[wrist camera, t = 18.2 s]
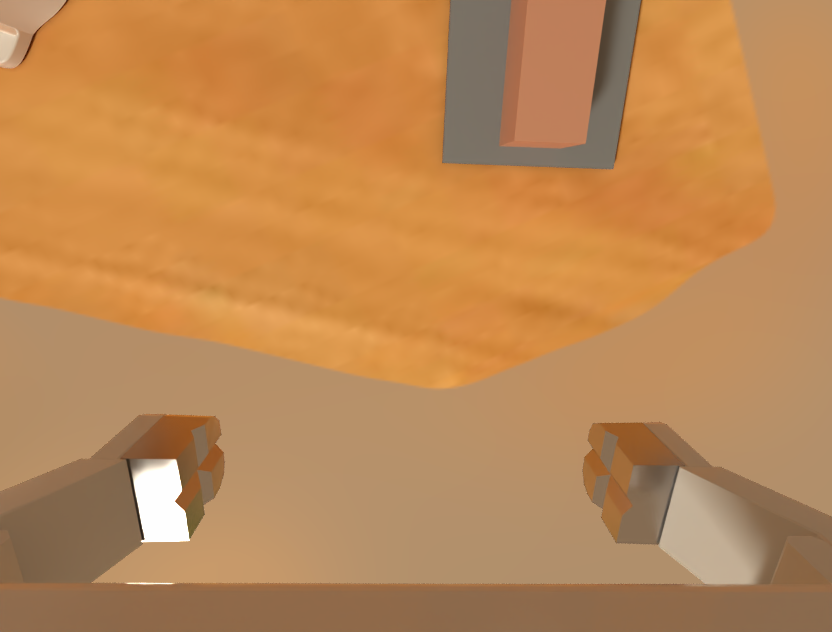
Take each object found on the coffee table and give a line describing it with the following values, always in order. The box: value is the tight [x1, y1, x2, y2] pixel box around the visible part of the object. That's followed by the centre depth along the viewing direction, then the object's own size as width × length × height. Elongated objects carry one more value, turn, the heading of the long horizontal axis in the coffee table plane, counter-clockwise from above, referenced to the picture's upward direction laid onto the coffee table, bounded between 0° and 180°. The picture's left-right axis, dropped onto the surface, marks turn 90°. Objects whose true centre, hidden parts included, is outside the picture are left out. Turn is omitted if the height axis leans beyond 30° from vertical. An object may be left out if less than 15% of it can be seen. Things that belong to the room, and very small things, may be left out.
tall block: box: [499, 0, 606, 149], centre depth 30 cm, size 5×5×12 cm
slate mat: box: [442, 0, 641, 169], centre depth 33 cm, size 14×16×1 cm
